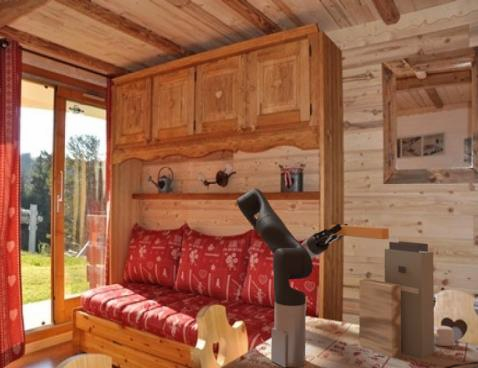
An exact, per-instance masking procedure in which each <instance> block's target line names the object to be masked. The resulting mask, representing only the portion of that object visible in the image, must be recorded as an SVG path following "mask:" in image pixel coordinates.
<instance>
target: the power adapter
mask: <svg viewBox="0 0 478 368" xmlns="http://www.w3.org/2000/svg"><path fill="white" fill-rule="evenodd" d="M435 344H436V346H439V347H454V345H455V330H454V328H452V327H450V326H447V325H434V345H435Z"/></svg>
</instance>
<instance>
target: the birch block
mask: <svg viewBox="0 0 478 368" xmlns="http://www.w3.org/2000/svg"><path fill="white" fill-rule="evenodd" d="M358 283H359V284H358V285H359V286H358V287H359V300H358V303H359V304H358V305H359V313H358V314H359V316H358V317H359V320H358V321H359V325H358V326H359V332H358V333H359V335H358V337H359V338H358V339H359V340H358V341H359V344H358V345H359V346H360V347H362V348H365V349H369V350H371V351H374V352H376V353H379V354H381V355H385V356H387V357H390V358H393V357H396V356H400V355H402V351H401V285H398V284H393V283H388V282H385V281H382V280H378V279H372V278H365V279H359V282H358Z"/></svg>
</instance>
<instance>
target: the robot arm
mask: <svg viewBox="0 0 478 368" xmlns="http://www.w3.org/2000/svg"><path fill="white" fill-rule="evenodd" d="M236 205H237V207H238V209H239V210H240V212H241V214H242V215H243V216H244V217H245V219H246V220H247V221H248V223H250V224H251V226H252V227H253V229H255V231H256V232H257V233H258V234H259V237H260V238H261V239H262V241H263V242H264V243H265V244H266V245H267V246H268V247H269V250H270V251H271V252H272V254H273V258H272V269H273V270H272V271H273V291H274V292H273V293H274V294H273V295H274V312H273V313H274V315H273V316H274V317H273V319H274V320H273V321H274V324H273V327H272V328H271V342H270V343H271V348H270V351H271V352H270V354H271V355H270V359H271V360H270V361H271V362H273V363H275V364H277V365H279V366H280V367H283V368H298V367H301V366H304V365H305V364H306V320H307V319H306V314H307V313H306V312H307V311H306V309H307V308H306V307H307V302H306V301H307V300H306V299H307V296H306V294H305V292H303V291H302V290H299V289H296V288H293V287H291V285H290V280H303V279H306V278H308V277H310V276H311V275H312V273H313V269H314V265H313V264H314V263H313V260H312V259H314V258H316V257H318V256H319V255H321V254H322V253H324V252H326V251H327V250H328V249H329V246H330V244H331V243H333V242H334V241H341V239H343V238H344V236H341V235H334V234H335V233H337V232H338V231H340V230H341V229H342V228H341V225H342V224H340V223H337V224H334V225H335V226H334V227H333V228H330V227H329V228H324V229H323V230H320V231H318V232H314V233H313V234H312V235H311V236H310V237H308V238H306V239H305V240H304V241H303V242H302V243H301V242H299V240H298V239H297V238H295V237H294V235H293V234H292V233H291V232H290V230H289V229H288V227H287V226H286V224H285V223H284V221H283V220H282V219H281V218H280V216H279V215H278V214H277V213H276V212H275V210H274V208H272V205H270V203H269V201H268V199H267V198H266V196H265V194H264V193H263V192H262V191H261V189H259V188H253V189H250V190H248V191H247V192H246V193H244V194H243V195H241V196H240V197H238V198H237V199H236ZM255 215H257V217H256V216H255ZM343 225H347V226H349V224H348V223H345V224H343Z"/></svg>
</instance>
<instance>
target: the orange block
mask: <svg viewBox="0 0 478 368" xmlns="http://www.w3.org/2000/svg"><path fill="white" fill-rule="evenodd" d="M335 225H336V224H330V225H329V228H333V227H334V226H335ZM340 225H341V228H342V229H341V230H340V231H338V232H337V233H335V234H334V235H341V236H343V237H352V238H353V237H354V238H361V239H362V238H363V239H372V240H373V239H374V240H389V238H390V237H389V231H390V230H389V228H388V227H386V228H385V227H376V226H375V227H374V226H373V227H372V226H359V225H348V226H347V225H344V224H340Z"/></svg>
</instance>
